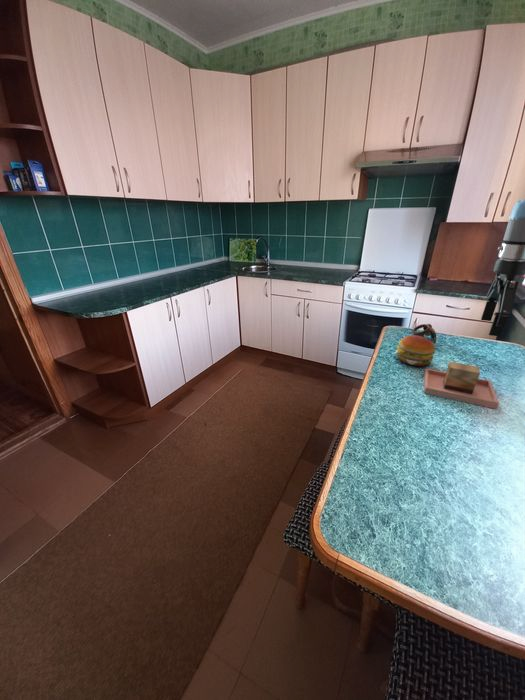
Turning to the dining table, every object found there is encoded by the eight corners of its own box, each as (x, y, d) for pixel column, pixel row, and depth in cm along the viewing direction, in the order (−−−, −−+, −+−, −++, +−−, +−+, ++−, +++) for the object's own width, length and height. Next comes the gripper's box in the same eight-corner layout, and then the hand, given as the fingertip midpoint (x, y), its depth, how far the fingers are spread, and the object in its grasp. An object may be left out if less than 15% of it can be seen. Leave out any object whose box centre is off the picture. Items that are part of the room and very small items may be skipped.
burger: (430, 372, 107) (437, 348, 103) (391, 363, 114) (396, 340, 109) (433, 357, 118) (439, 334, 113) (397, 350, 124) (402, 328, 119)
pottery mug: (436, 347, 127) (429, 332, 124) (413, 350, 134) (407, 335, 131) (441, 332, 134) (435, 317, 131) (419, 335, 141) (413, 321, 138)
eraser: (470, 387, 97) (478, 366, 93) (472, 394, 94) (480, 373, 90) (443, 381, 100) (449, 361, 97) (443, 388, 97) (450, 367, 93)
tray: (488, 386, 99) (490, 380, 98) (496, 409, 88) (499, 403, 87) (424, 373, 107) (425, 368, 106) (424, 393, 96) (425, 387, 95)
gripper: (488, 252, 95) (470, 313, 104) (507, 266, 75) (482, 340, 85) (517, 253, 92) (495, 316, 101) (545, 268, 72) (514, 344, 82)
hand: (489, 327), depth 93 cm, fingers open, 13 cm apart
